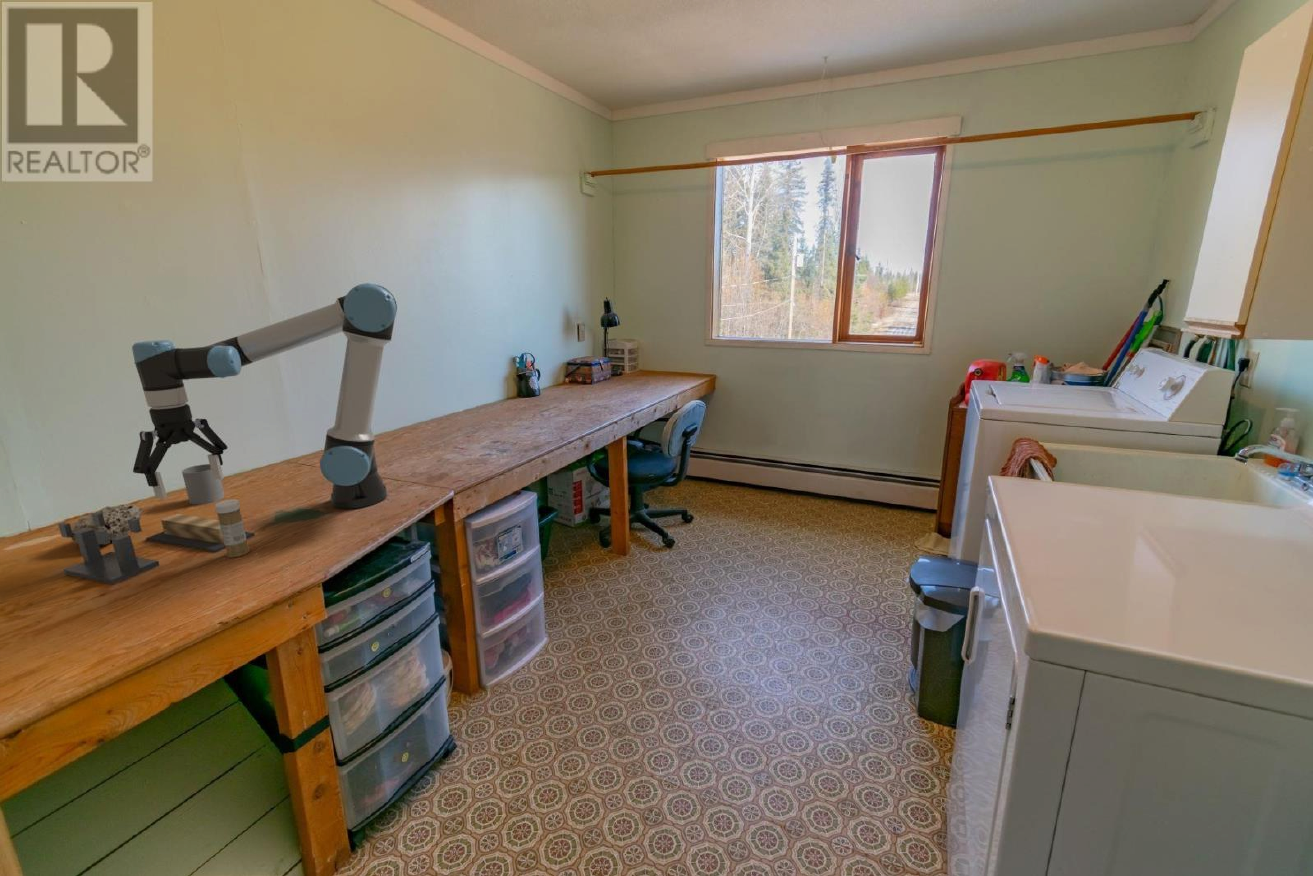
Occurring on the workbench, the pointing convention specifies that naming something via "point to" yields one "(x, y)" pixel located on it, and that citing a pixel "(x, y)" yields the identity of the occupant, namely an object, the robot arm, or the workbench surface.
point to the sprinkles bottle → (232, 528)
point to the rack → (110, 564)
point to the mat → (190, 542)
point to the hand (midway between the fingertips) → (191, 487)
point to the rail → (193, 528)
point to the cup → (202, 485)
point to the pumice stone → (109, 520)
